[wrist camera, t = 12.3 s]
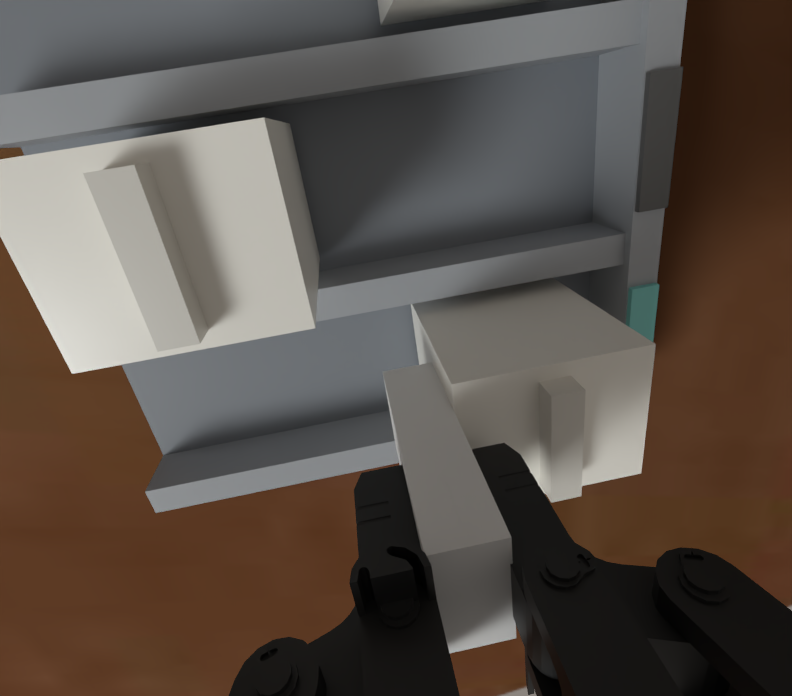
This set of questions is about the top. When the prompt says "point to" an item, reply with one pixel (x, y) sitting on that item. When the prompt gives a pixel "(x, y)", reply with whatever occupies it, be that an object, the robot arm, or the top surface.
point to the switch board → (370, 186)
